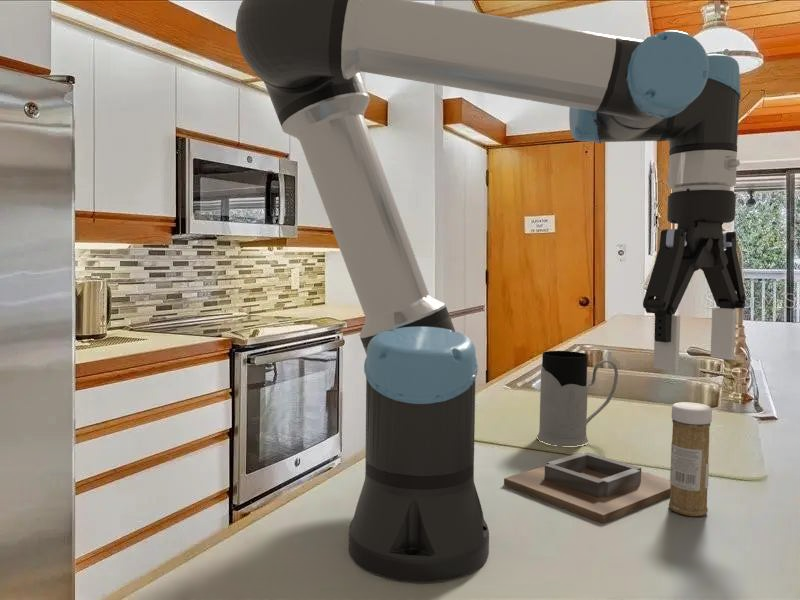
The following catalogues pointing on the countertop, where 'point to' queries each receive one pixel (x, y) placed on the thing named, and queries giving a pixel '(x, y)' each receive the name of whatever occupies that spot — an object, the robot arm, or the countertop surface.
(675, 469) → the sprinkles bottle
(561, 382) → the grey mug
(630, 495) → the socket board
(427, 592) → the countertop surface
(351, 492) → the countertop surface
